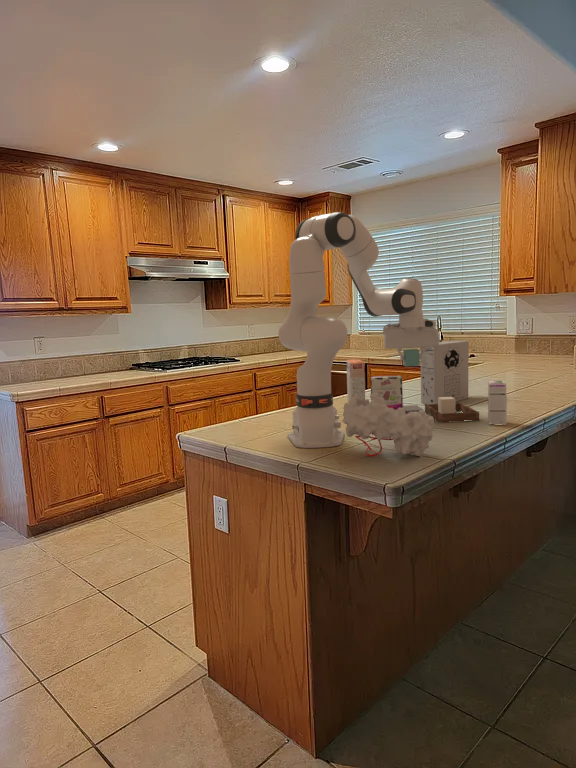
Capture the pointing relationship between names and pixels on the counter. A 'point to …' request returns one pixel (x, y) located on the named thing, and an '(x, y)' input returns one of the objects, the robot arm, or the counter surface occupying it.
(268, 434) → the counter surface
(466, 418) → the crate
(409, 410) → the trivet
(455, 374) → the cereal box
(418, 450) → the lumpy white molecule
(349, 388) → the cracker box
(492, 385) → the syrup box
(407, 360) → the teal block
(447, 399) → the cream block
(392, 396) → the candy bar box
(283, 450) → the counter surface
